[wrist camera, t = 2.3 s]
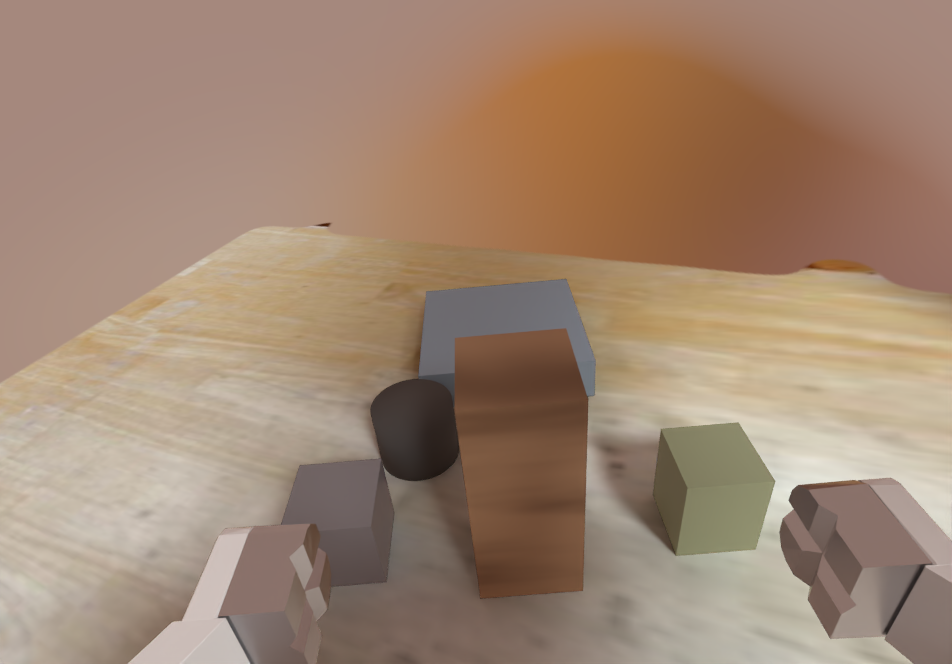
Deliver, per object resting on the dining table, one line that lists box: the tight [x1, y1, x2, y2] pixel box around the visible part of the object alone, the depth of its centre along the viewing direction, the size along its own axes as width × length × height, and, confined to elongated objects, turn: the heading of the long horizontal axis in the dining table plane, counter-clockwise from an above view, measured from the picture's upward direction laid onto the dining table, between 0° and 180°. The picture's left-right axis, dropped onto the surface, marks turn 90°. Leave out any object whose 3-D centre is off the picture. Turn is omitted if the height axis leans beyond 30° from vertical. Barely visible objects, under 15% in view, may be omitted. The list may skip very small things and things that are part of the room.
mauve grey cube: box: [281, 459, 394, 587], centre depth 29 cm, size 4×4×4 cm
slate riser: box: [418, 279, 596, 407], centre depth 44 cm, size 12×12×3 cm
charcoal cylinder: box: [371, 379, 459, 481], centre depth 35 cm, size 5×5×4 cm
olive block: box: [653, 423, 775, 556], centre depth 29 cm, size 4×4×5 cm
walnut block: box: [455, 328, 588, 599], centre depth 26 cm, size 5×5×12 cm
